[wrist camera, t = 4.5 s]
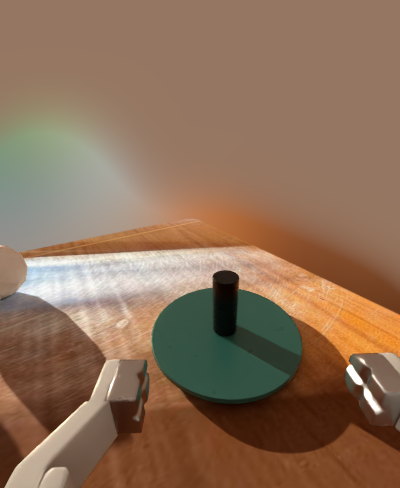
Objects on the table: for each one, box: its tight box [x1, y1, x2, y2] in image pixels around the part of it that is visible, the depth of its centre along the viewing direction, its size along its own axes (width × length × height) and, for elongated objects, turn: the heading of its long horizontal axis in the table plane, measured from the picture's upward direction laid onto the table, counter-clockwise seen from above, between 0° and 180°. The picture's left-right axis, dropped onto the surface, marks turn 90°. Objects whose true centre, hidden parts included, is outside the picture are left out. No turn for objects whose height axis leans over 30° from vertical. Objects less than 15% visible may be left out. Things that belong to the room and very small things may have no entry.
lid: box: [151, 270, 302, 404], centre depth 23 cm, size 15×15×7 cm
